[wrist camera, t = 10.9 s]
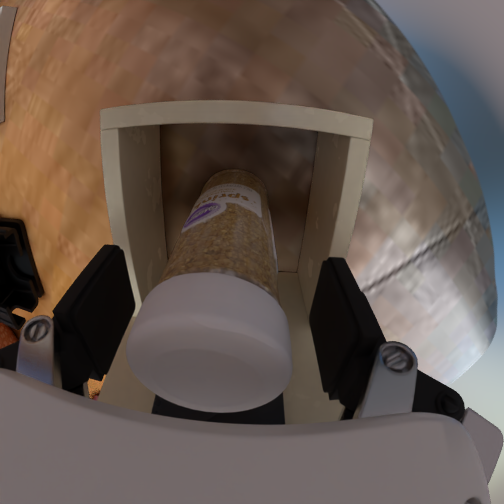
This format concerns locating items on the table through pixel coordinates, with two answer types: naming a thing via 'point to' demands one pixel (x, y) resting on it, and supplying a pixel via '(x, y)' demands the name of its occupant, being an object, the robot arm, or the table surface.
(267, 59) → the table surface
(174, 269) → the sprinkles bottle
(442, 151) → the table surface
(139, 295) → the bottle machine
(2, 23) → the button block
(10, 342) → the planter
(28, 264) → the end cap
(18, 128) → the table surface
